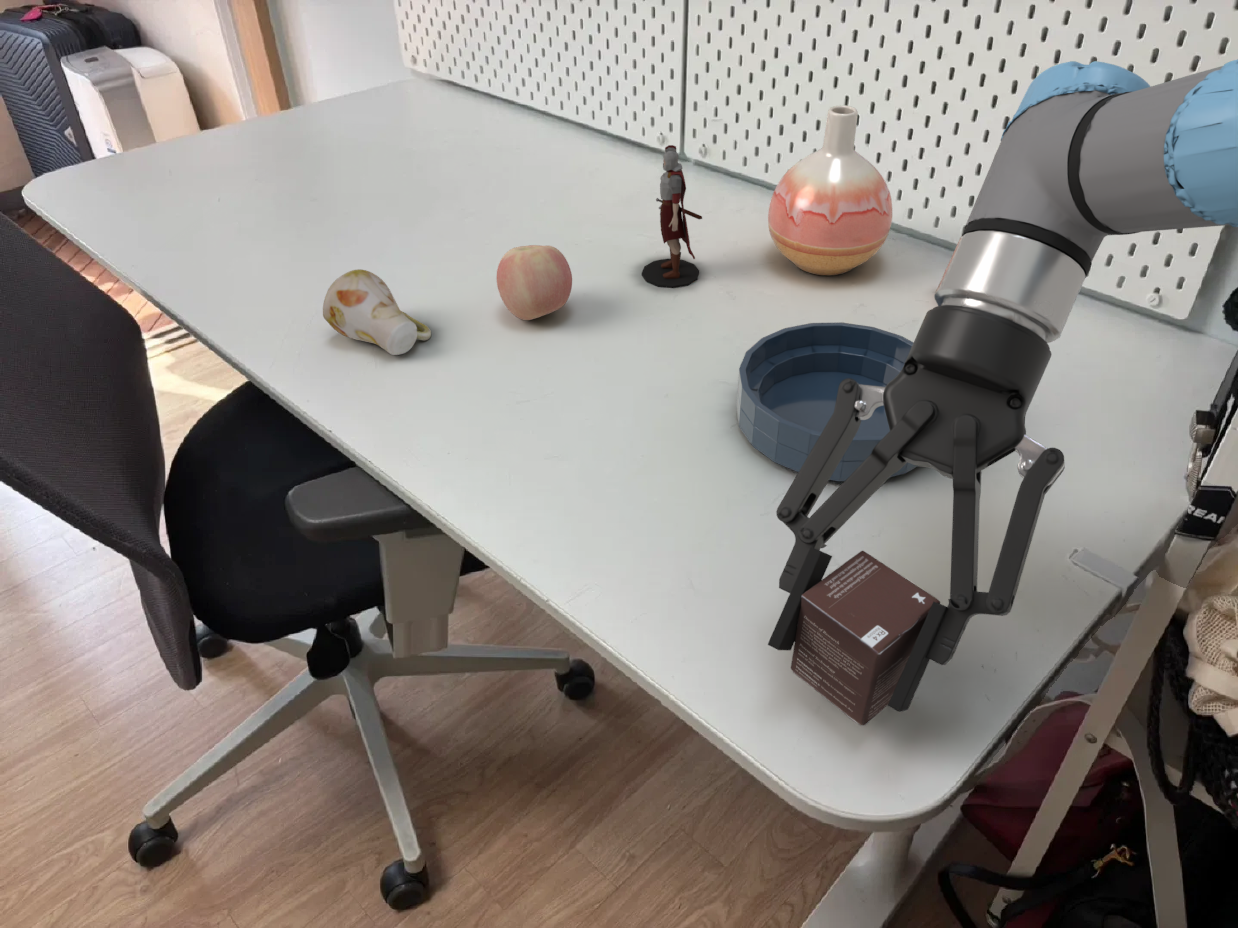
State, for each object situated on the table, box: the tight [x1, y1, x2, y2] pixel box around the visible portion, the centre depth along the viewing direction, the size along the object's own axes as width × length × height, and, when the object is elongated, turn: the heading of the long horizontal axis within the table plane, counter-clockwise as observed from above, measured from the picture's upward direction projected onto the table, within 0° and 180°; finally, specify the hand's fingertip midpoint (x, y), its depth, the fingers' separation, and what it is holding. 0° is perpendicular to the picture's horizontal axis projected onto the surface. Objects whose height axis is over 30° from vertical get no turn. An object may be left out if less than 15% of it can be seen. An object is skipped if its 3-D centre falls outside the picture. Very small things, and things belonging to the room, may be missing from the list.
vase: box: [767, 104, 893, 276], centre depth 103 cm, size 14×14×18 cm
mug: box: [322, 269, 432, 356], centre depth 96 cm, size 8×10×10 cm
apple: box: [496, 244, 573, 321], centre depth 98 cm, size 8×8×8 cm
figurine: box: [641, 144, 703, 289], centre depth 103 cm, size 7×7×15 cm
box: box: [790, 550, 941, 727], centre depth 58 cm, size 6×6×7 cm
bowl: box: [735, 321, 918, 482], centre depth 84 cm, size 18×18×5 cm
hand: (836, 676), depth 56 cm, fingers closed on box, 7 cm apart
